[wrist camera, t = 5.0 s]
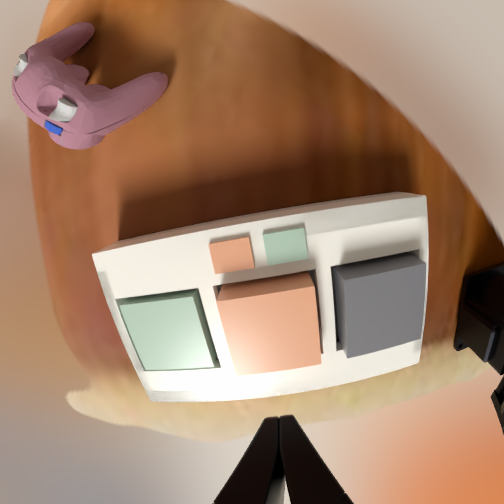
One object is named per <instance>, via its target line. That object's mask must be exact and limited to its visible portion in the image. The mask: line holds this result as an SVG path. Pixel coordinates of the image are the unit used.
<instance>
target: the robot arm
mask: <svg viewBox="0 0 504 504" xmlns="http://www.w3.org/2000/svg"><path fill="white" fill-rule="evenodd" d="M469 281H470V282H469ZM467 347H470V348H471V349H472V350H473V351H474V353H475V354H476V355H477V356H478V357H479V358H480V359H481V360H482V361H483V362H488V363H489V364H490V365H491V366H492V367H493V368H494V369H495V370H496V371H497V372H498V373H499V374H500V375H503V374H504V263H501V264H498V265H495V266H492V267H489V268H486V269H483V270H480V271H477V272H474V273H470V274H468V275H466V277H465V278H464V281H463V290H462V299H461V306H460V313H459V320H458V325H457V331H456V336H455V341H454V349H455V350H456V351H460V350H462V349H465V348H467ZM491 399H492V402H493V404H494V407H495V410H496V412H497V415H498V418H499V421H500V424H501V427H502V431H503V435H504V376H503V378H502V380H501V382H500V383H499V385H498V387H497V388H496V390H494V392H493V393H492V395H491ZM285 479H286V484H287V488H288V493H289V497H290V502H291V504H354V503H353V502H352V500H351V499H350V498H349V496H348V495H347V494H346V493H345V491H344V490H343V488H342V487H341V486H340V484H339V483H338V481H337V480H336V479H335V477H334V476H333V474H332V473H331V471H330V470H329V468H328V467H327V466H326V464H325V463H324V461H323V460H322V458H321V457H320V455H319V454H318V452H317V451H316V449H315V448H314V446H313V445H312V443H311V442H310V440H309V439H308V437H307V436H306V434H305V433H304V431H303V429H302V428H301V426H300V425H299V423H298V422H297V420H296V419H295V417H294V416H293V415H284V416H280V417H277V416H275V417H267V418H265V419H264V420H263V422H262V424H261V426H260V427H259V429H258V431H257V433H256V434H255V436H254V438H253V440H252V441H251V443H250V445H249V447H248V448H247V450H246V452H245V453H244V455H243V457H242V458H241V460H240V462H239V463H238V465H237V467H236V468H235V470H234V471H233V473H232V475H231V476H230V478H229V479H228V481H227V482H226V484H225V485H224V487H223V488H222V490H221V491H220V493H219V494H218V496H217V497H216V499H215V500H214V503H213V504H283V501H284V491H285Z"/></svg>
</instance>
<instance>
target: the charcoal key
mask: <svg viewBox="0 0 504 504" xmlns="http://www.w3.org/2000/svg"><path fill="white" fill-rule="evenodd" d="M333 273H334V285H335V297H336V312H337V329H338V338H339V341H340V343H341V345H342V348H343V350H344V352H345V355H346V357H347V359H348V358H352V357H356V356H361V355H365V354H369V353H373V352H377V351H380V350H384V349H388V348H391V347H395V346H398V345H402V344H405V343H408V342H412V341H415V340H418V339H421V332H422V324H423V314H424V303H425V287H426V262H424V261H422V260H421V259H419V258H417V257H416V256H414V255H412V254H410V253H409V252H403V253H398V254H393V255H388V256H383V257H378V258H372V259H367V260H362V261H357V262H351V263H346V264H341V265H335V266H333Z"/></svg>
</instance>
